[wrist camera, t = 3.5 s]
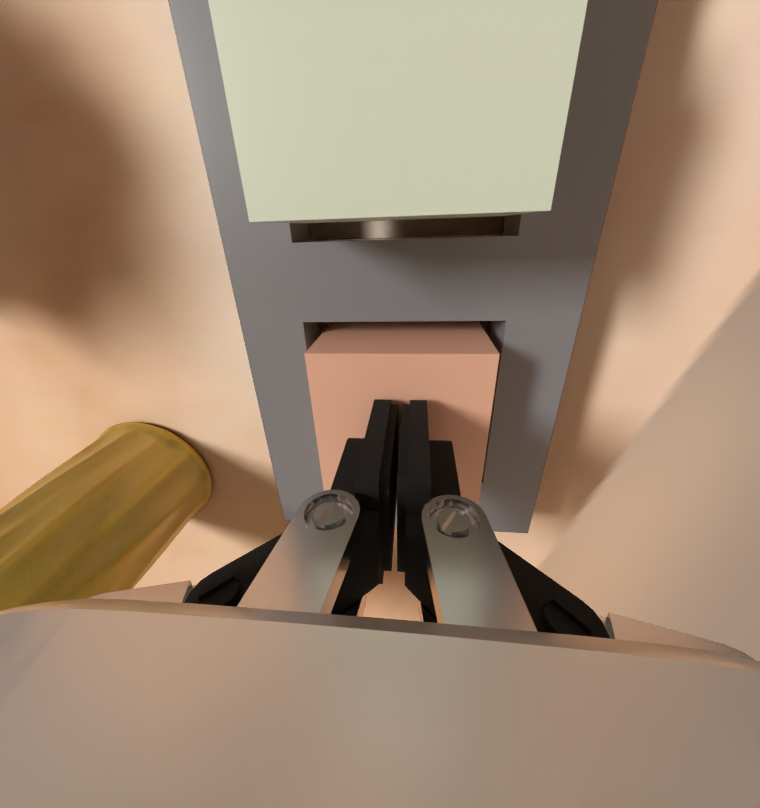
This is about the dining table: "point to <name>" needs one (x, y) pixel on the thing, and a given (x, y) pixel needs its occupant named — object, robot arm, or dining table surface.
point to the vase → (100, 516)
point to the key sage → (397, 105)
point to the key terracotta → (404, 387)
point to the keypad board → (428, 268)
